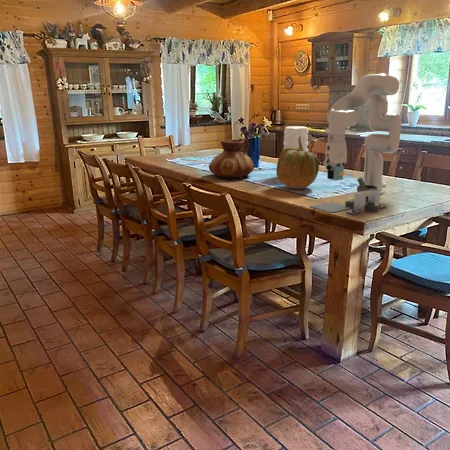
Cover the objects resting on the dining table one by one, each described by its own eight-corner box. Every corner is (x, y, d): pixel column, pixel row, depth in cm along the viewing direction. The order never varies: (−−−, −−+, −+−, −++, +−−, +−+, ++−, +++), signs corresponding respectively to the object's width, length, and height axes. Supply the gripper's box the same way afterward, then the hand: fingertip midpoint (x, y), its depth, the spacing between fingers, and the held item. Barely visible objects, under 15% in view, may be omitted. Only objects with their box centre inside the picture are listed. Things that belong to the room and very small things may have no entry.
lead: (348, 206, 216) (349, 200, 215) (377, 212, 204) (378, 206, 204) (345, 207, 214) (345, 201, 213) (374, 213, 203) (374, 207, 202)
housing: (378, 206, 214) (379, 187, 211) (385, 207, 211) (386, 189, 208) (345, 213, 202) (347, 194, 200) (352, 215, 199) (354, 195, 196)
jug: (235, 182, 275) (235, 142, 268) (199, 177, 292) (197, 139, 285) (262, 175, 297) (262, 137, 290) (226, 171, 315) (225, 135, 308)
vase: (306, 173, 300) (308, 125, 291) (308, 178, 285) (310, 127, 276) (281, 173, 302) (282, 126, 293) (282, 178, 287) (283, 127, 278)
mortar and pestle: (367, 197, 232) (369, 174, 229) (380, 201, 224) (382, 177, 221) (350, 199, 228) (351, 176, 224) (362, 203, 220) (364, 179, 216)
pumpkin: (302, 182, 272) (304, 133, 263) (326, 190, 249) (329, 136, 240) (268, 185, 264) (269, 134, 255) (289, 194, 241) (291, 138, 232)
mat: (330, 203, 221) (330, 202, 221) (352, 208, 210) (352, 207, 210) (309, 207, 214) (309, 206, 214) (331, 213, 203) (331, 212, 203)
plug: (335, 177, 209) (335, 165, 208) (345, 179, 204) (346, 166, 202) (328, 178, 207) (328, 166, 205) (338, 181, 202) (339, 167, 200)
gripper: (329, 140, 194) (327, 181, 200) (355, 138, 203) (352, 177, 208) (317, 139, 200) (315, 178, 206) (343, 136, 209) (340, 175, 214)
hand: (334, 177), depth 207 cm, fingers closed on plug, 4 cm apart
